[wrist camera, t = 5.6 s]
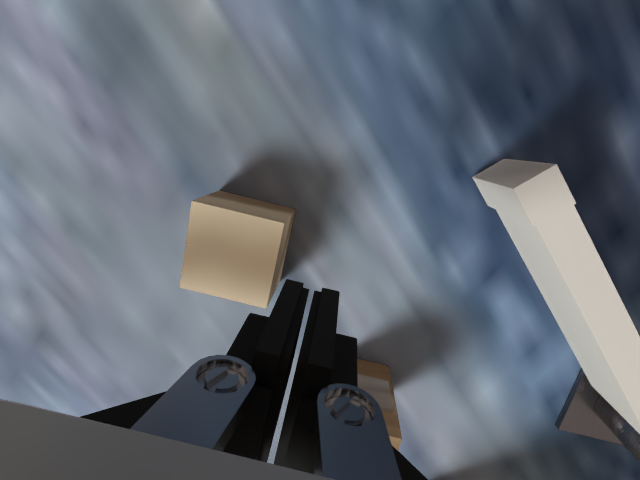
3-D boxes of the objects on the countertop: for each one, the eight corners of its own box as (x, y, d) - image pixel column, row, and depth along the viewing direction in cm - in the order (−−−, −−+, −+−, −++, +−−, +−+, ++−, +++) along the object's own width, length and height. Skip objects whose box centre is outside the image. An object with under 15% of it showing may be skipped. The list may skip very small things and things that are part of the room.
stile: (343, 351, 24) (340, 419, 18) (390, 362, 24) (403, 434, 18) (333, 387, 24) (328, 464, 18) (379, 398, 24) (388, 478, 18)
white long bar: (611, 364, 22) (689, 431, 17) (581, 377, 23) (649, 446, 17) (503, 158, 20) (556, 164, 15) (471, 177, 20) (512, 188, 15)
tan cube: (219, 190, 22) (191, 200, 18) (295, 208, 22) (284, 223, 18) (208, 262, 23) (179, 287, 19) (280, 280, 23) (266, 308, 19)
